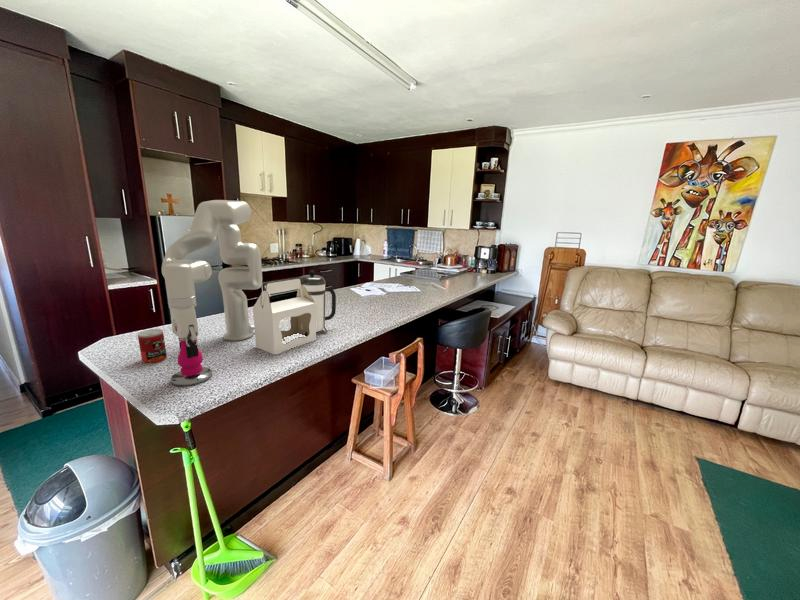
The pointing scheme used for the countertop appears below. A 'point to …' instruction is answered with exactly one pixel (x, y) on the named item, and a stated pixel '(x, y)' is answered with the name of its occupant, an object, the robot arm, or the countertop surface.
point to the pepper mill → (189, 360)
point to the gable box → (273, 313)
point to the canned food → (152, 345)
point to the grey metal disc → (191, 378)
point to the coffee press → (318, 298)
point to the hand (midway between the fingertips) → (189, 353)
